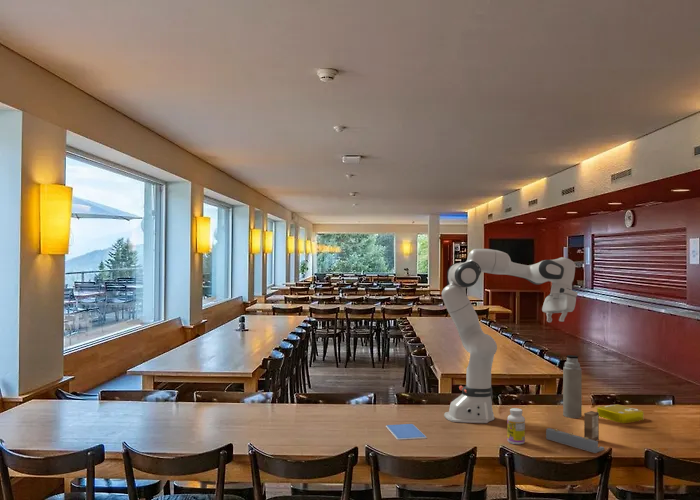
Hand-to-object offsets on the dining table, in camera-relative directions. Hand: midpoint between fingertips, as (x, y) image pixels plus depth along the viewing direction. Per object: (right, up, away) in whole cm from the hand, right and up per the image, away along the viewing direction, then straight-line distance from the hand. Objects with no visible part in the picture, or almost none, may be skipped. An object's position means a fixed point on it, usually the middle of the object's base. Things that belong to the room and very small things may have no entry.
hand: (555, 321), depth 258 cm
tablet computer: (-70, -44, -23) cm, 86 cm away
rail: (-5, -43, -36) cm, 57 cm away
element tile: (+32, -45, +4) cm, 55 cm away
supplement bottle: (-28, -43, -34) cm, 62 cm away
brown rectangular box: (+3, -44, -31) cm, 54 cm away
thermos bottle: (+10, -45, +6) cm, 46 cm away
